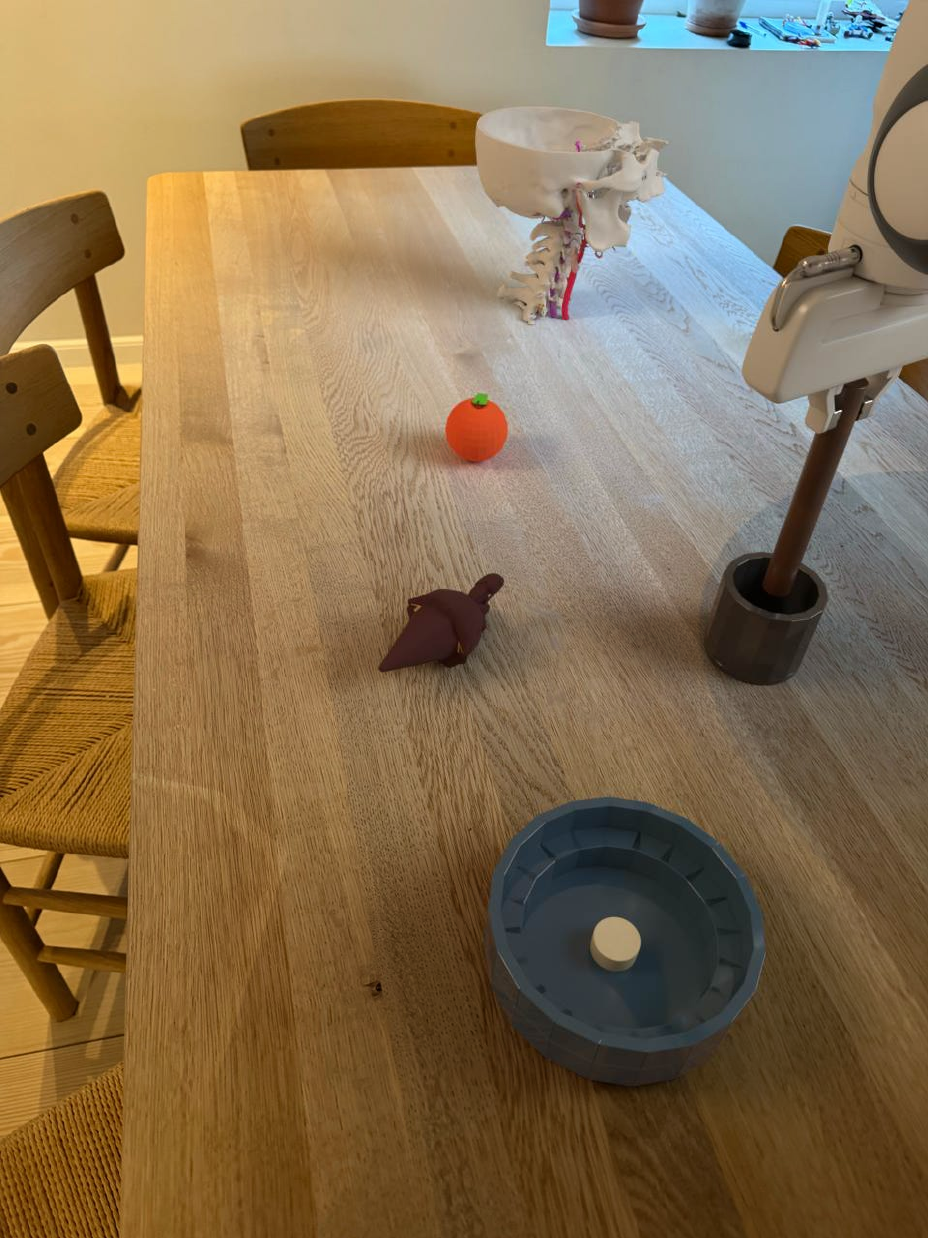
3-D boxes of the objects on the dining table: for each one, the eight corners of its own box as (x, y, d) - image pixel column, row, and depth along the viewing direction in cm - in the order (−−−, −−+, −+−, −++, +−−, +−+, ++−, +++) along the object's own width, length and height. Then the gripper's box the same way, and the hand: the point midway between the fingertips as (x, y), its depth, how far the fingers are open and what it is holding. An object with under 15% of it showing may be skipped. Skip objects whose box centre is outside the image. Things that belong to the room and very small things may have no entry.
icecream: (422, 675, 75) (537, 595, 84) (358, 613, 77) (477, 541, 86) (400, 723, 80) (511, 642, 89) (341, 663, 82) (455, 590, 91)
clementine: (453, 429, 111) (456, 375, 107) (511, 439, 111) (517, 384, 106) (438, 468, 106) (440, 412, 101) (499, 478, 105) (504, 422, 100)
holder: (794, 623, 91) (820, 558, 85) (805, 691, 84) (834, 627, 79) (701, 611, 91) (721, 546, 86) (705, 678, 85) (727, 612, 79)
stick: (788, 580, 83) (866, 373, 69) (791, 598, 81) (872, 390, 67) (760, 576, 83) (832, 369, 69) (763, 595, 81) (837, 386, 68)
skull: (462, 326, 130) (471, 147, 114) (470, 267, 143) (480, 100, 128) (645, 340, 130) (681, 163, 114) (636, 280, 143) (666, 114, 127)
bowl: (732, 863, 71) (753, 817, 67) (750, 1111, 59) (778, 1073, 54) (498, 828, 72) (505, 781, 68) (467, 1065, 60) (472, 1024, 56)
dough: (637, 932, 66) (641, 920, 65) (636, 975, 64) (641, 964, 63) (591, 924, 66) (594, 913, 65) (588, 968, 64) (592, 957, 63)
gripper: (825, 284, 55) (762, 480, 65) (1046, 228, 63) (962, 410, 73) (750, 243, 59) (702, 434, 69) (968, 195, 67) (897, 372, 77)
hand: (837, 421), depth 71 cm, fingers closed on stick, 2 cm apart
